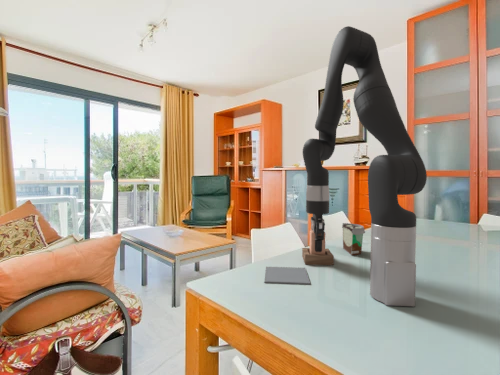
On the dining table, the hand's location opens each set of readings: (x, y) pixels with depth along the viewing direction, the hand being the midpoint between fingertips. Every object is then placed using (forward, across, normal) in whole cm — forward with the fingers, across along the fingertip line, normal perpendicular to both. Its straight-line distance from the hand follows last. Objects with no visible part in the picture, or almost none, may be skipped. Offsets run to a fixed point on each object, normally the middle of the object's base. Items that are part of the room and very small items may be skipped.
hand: (317, 249), depth 91 cm
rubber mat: (+4, -15, +11) cm, 19 cm away
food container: (+4, +12, -16) cm, 20 cm away
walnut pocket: (+4, 0, 0) cm, 4 cm away
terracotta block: (+4, 0, 0) cm, 4 cm away
